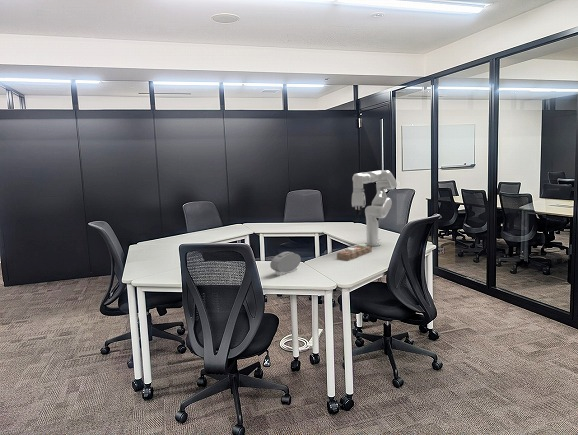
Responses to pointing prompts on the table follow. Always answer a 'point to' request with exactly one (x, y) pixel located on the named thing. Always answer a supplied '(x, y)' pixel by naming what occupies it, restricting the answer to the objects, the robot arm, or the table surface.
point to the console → (353, 253)
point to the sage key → (362, 245)
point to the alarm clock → (285, 263)
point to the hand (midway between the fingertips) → (358, 214)
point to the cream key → (351, 249)
